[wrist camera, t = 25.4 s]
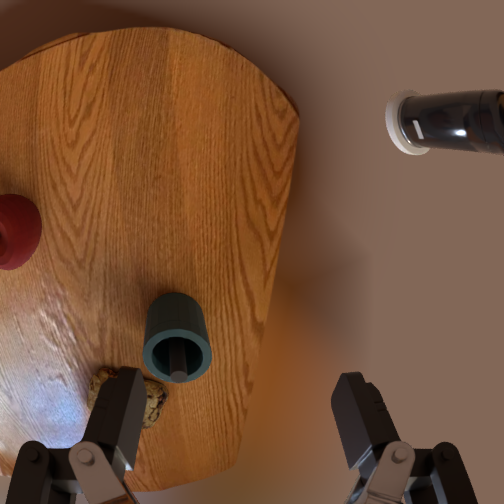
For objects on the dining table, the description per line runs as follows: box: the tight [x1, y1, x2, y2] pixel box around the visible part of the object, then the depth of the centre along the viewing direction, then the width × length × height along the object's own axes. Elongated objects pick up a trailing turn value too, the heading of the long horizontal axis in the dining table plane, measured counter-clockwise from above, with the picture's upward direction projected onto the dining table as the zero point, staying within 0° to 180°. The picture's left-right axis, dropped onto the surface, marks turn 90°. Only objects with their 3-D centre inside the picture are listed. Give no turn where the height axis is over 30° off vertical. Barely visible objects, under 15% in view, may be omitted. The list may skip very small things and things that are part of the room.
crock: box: [143, 293, 212, 383], centre depth 38 cm, size 9×9×10 cm
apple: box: [0, 194, 42, 270], centre depth 28 cm, size 10×10×10 cm
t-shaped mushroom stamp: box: [169, 336, 188, 383], centre depth 36 cm, size 4×3×13 cm
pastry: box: [87, 368, 169, 429], centre depth 44 cm, size 17×17×3 cm
